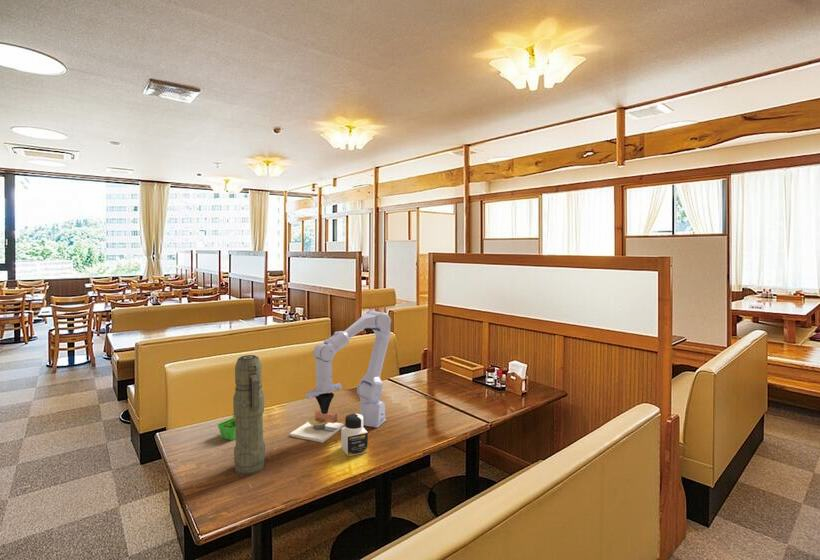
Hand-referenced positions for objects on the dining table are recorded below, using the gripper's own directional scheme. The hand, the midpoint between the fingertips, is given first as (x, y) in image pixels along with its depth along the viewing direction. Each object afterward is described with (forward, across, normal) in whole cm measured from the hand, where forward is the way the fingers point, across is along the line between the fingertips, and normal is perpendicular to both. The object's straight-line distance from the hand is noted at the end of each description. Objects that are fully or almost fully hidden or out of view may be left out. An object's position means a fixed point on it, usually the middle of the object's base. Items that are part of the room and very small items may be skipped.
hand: (324, 413), depth 155 cm
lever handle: (+5, +2, +4) cm, 7 cm away
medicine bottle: (+9, 0, -16) cm, 19 cm away
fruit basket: (+9, -21, +24) cm, 33 cm away
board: (+8, +1, +5) cm, 10 cm away
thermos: (+8, -30, -2) cm, 31 cm away
